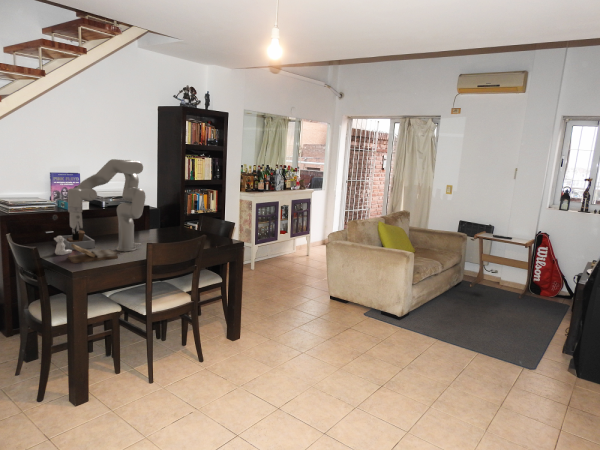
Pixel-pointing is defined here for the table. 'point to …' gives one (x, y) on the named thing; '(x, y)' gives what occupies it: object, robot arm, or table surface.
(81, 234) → the wooden block set
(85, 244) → the block crate
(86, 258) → the floor board
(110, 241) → the table surface
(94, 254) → the oak plank
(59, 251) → the sitting furry creature
